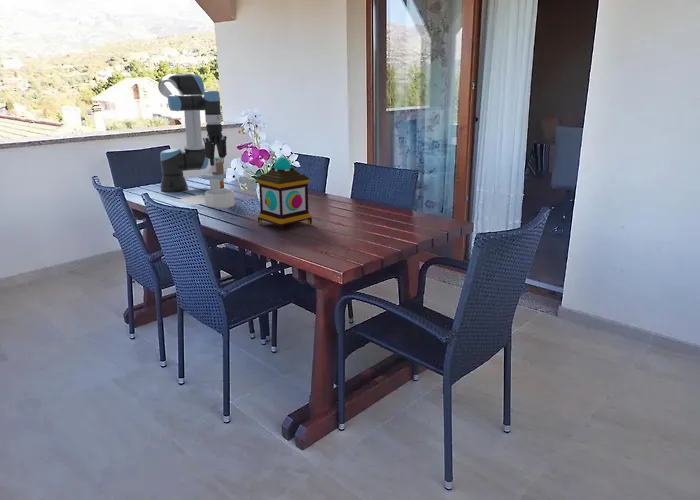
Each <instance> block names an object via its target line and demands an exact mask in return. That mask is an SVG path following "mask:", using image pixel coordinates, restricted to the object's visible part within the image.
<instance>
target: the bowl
mask: <svg viewBox="0 0 700 500" xmlns="http://www.w3.org/2000/svg"><path fill="white" fill-rule="evenodd" d="M234 192H235V190H234V189H229V188H224V189H214V190H206V191H205V193H204V195H205V202H206V203H205V207H210V208H213V209H218V208H220V209H229V208H232V207H234V206H235V193H234Z"/></svg>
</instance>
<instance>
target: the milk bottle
mask: <svg viewBox="0 0 700 500" xmlns="http://www.w3.org/2000/svg"><path fill="white" fill-rule="evenodd" d="M218 158H219V156H218V157H217V156H214V159H216V162H217V161H218ZM208 172H212V169H211V166H210V168H209V170H208ZM209 187H210V190H214V189H225V180H224V179H209Z"/></svg>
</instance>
